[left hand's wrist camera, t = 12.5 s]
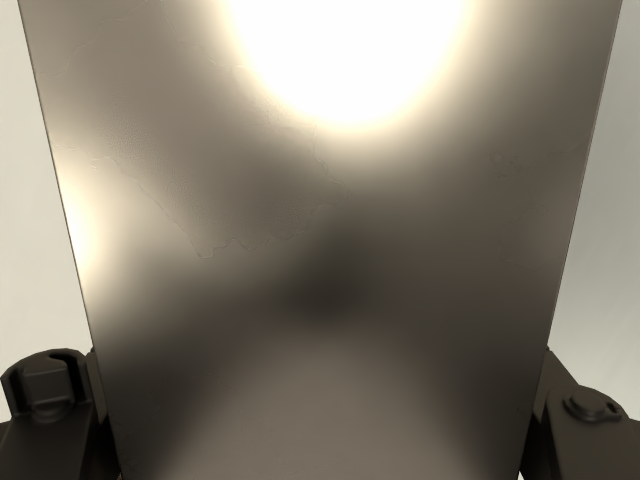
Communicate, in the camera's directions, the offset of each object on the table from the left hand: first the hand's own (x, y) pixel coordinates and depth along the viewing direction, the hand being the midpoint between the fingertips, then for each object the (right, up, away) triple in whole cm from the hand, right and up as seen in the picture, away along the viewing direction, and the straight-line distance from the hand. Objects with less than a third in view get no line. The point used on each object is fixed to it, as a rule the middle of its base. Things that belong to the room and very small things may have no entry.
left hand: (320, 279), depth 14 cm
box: (0, +10, -3) cm, 11 cm away
